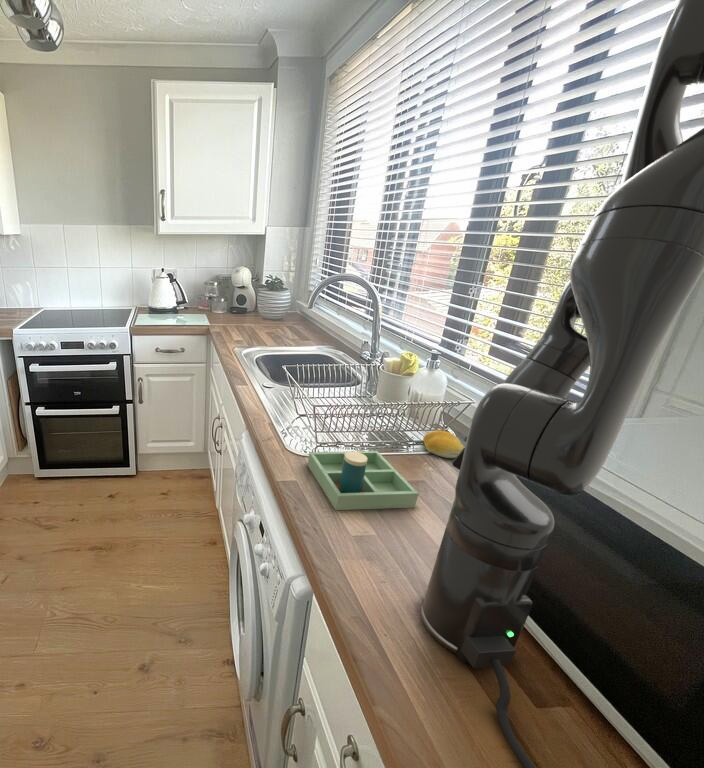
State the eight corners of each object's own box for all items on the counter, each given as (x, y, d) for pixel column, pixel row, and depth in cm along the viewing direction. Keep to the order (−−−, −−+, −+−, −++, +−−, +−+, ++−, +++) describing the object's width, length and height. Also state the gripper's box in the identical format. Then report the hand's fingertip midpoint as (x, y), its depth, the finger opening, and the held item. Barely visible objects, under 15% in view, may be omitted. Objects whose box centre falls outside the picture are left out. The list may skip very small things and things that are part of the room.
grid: (415, 507, 77) (418, 493, 76) (335, 510, 76) (338, 495, 75) (374, 463, 92) (377, 450, 91) (307, 465, 90) (309, 452, 89)
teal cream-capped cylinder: (364, 498, 78) (371, 462, 75) (343, 499, 78) (350, 462, 75) (354, 486, 82) (361, 450, 79) (335, 486, 82) (341, 451, 79)
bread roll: (428, 456, 95) (432, 441, 94) (419, 438, 103) (423, 424, 102) (468, 462, 93) (473, 447, 91) (456, 444, 101) (460, 429, 99)
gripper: (575, 415, 57) (496, 505, 61) (537, 401, 70) (474, 475, 74) (519, 386, 59) (447, 475, 64) (492, 377, 72) (434, 451, 77)
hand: (462, 475), depth 69 cm, fingers open, 8 cm apart
